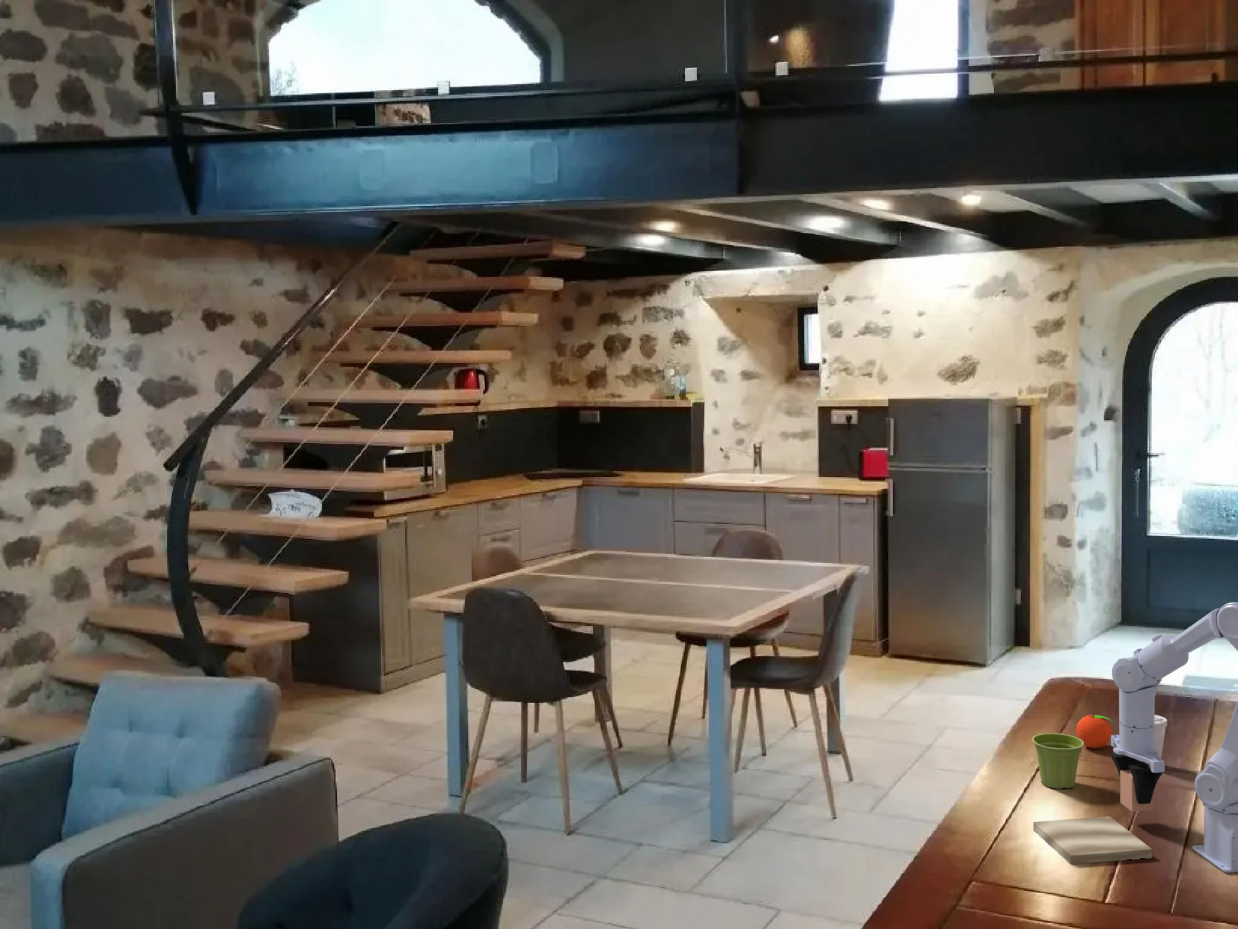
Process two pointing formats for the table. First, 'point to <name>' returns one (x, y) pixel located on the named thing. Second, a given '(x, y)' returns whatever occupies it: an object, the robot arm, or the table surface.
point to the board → (1091, 840)
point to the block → (1131, 793)
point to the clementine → (1094, 731)
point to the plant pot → (1057, 758)
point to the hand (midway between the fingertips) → (1137, 798)
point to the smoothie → (1159, 733)
